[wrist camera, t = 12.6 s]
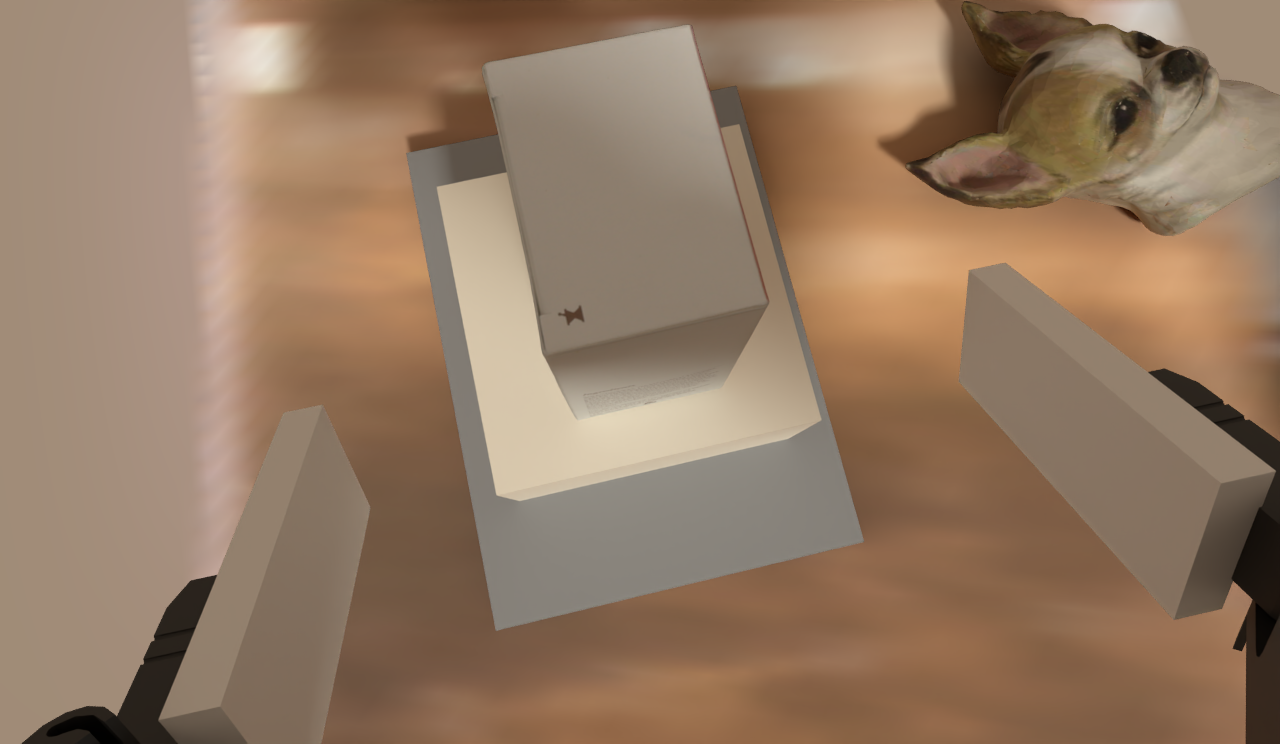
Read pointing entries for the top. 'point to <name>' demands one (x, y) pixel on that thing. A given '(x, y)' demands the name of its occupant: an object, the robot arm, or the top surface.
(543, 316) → the small box
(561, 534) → the pedestal
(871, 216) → the top surface
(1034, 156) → the ceramic sculpture
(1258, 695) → the robot arm
